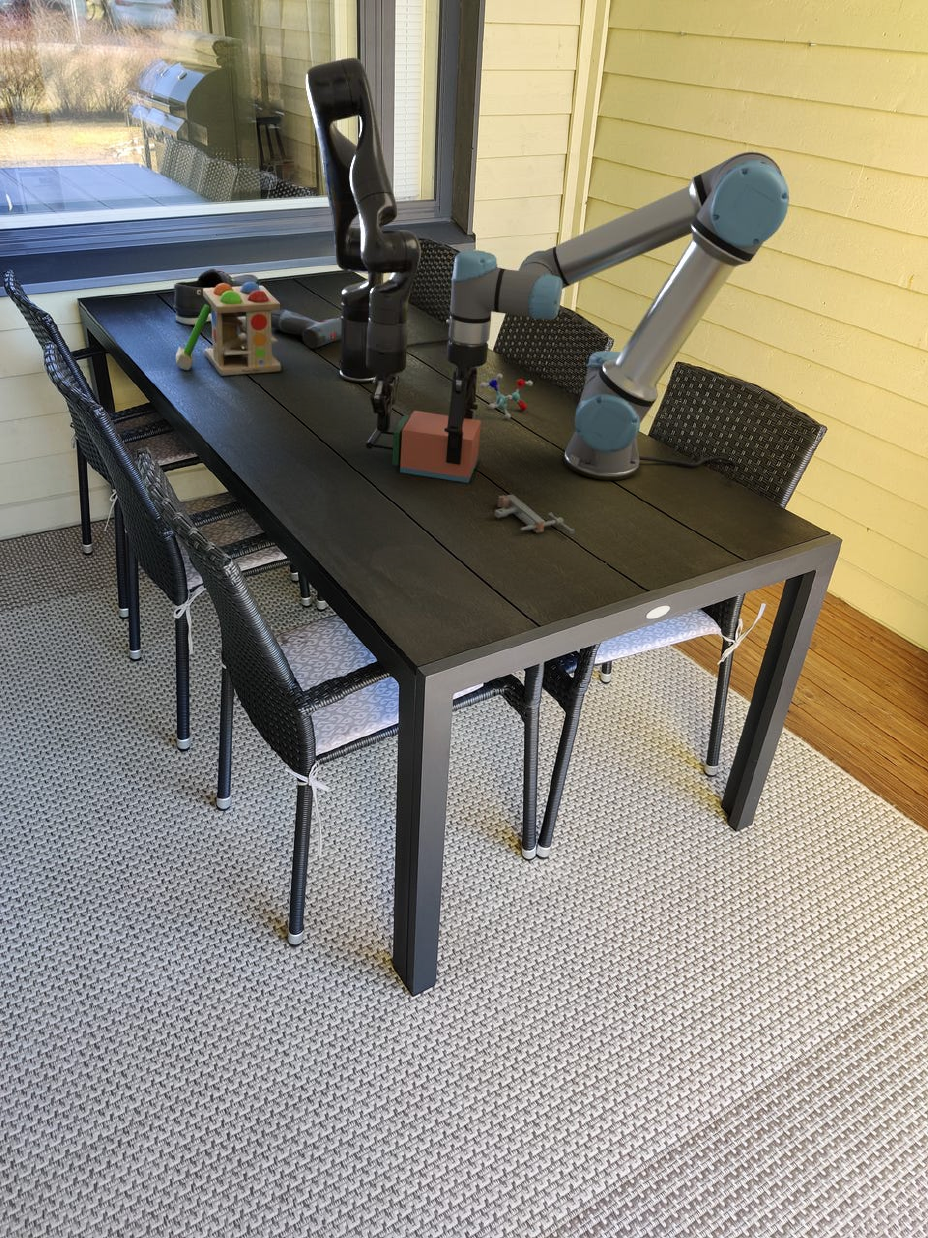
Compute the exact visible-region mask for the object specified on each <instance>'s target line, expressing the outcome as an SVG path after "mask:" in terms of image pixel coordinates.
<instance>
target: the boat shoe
mask: <svg viewBox="0 0 928 1238" xmlns="http://www.w3.org/2000/svg"><path fill="white" fill-rule="evenodd" d="M247 282H254V283H256V284H257V285H258V286H262V283H261V281H260V280H259V278H258V277H257V276H256V275H254V274H241V275H237V276H233V277H232V276H230V274H228V273H227V272H225V271H222V270H218V269H214V268H210V269H207V270H205V271H204V272H202V273H201V274H200V275H199V276H198V278H197V280H191V281H179V282H175V283H174V284H173V289H174V305H173V309H174V310H175V311H176V312H175V320H176V321H177V322H179V323H180V324H184V325H195V324H196V322H197V320H198V318H199V316H200V314H201V311H202V309H203V307H204V305H208V306H210V307H211V305H210V304H209V302H208V301H207V300H206V299H205V297H204V296H203V289H204V288H215V287H216V286H217V285H218V284H221V283H226V284H228V285H230V286H231V287H242V286H243V285H244V284H245V283H247ZM209 314H211V310H210V312H209ZM207 322H211V321H210V320H209V318H207V320H206V322H205V323H207Z"/></svg>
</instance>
